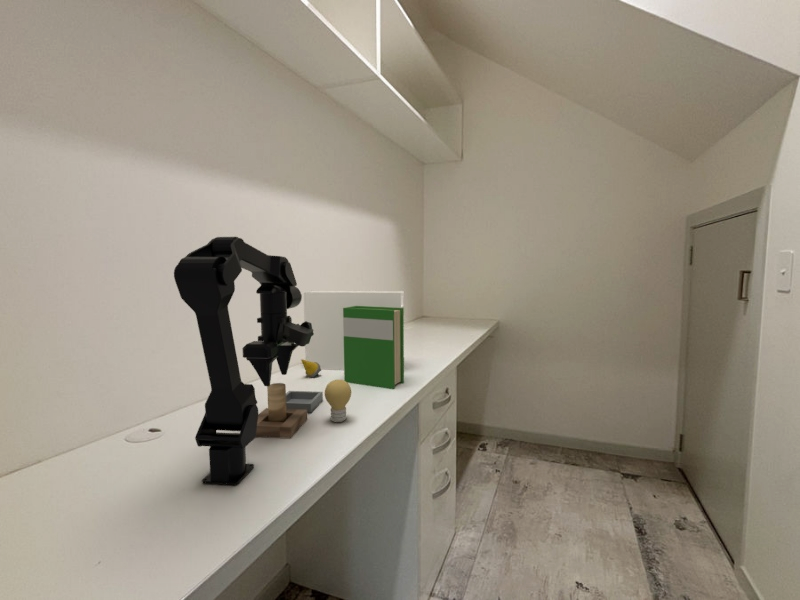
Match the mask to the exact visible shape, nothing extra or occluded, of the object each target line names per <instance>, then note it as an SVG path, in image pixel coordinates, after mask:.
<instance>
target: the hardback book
mask: <svg viewBox="0 0 800 600" xmlns="http://www.w3.org/2000/svg"><path fill="white" fill-rule="evenodd" d="M404 317H405V310H404V311H403V308H393V307H371V306H352V307H346V308H343V329H344V371H343V372H344V373H343V374H344V375H343V376H344V381H346V382H347V383H348V384H354V385H361V386H368V387H376V388H381V389H389V390H395V388H396V385H397V384H404V383H405V354H404V353H405V352H404V351H405V349H404V348H405V346H404V343H405V342H404V341H405V339H404V338H405V337H404V335H405V334H404V332H405V331H404V330H405V329H404V328H405V327H404V326H405V325H404V323H405V322H404V321H405V319H404Z"/></svg>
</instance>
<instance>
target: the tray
mask: <svg viewBox="0 0 800 600" xmlns="http://www.w3.org/2000/svg"><path fill="white" fill-rule="evenodd" d="M323 397H324V392H323V391H312V390H311V391H309V390H308V391H307V390H305V391H304V390H303V391H302V390H288V391H287V392H286V409H302V410H307V414H312V413H313V412H314V411H315V410H316V409H317V408H318V407H319V405H320V404H321V403H322V402H323V401H324V398H323Z"/></svg>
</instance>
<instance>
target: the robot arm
mask: <svg viewBox="0 0 800 600" xmlns="http://www.w3.org/2000/svg"><path fill="white" fill-rule="evenodd" d="M243 269H244V270H246V271H248V272H250V273H251V277H252V278H253V279H254V280H256V282H258V284H260V286H259V287H258V288H257V289H256V294H257V295H258V294H259V301H260V302H259V307H260V317H257V318H256V323H257V324H260V332H261V334H260V335H258V336H257V340H254V341H251V342H248V343H246V344H245V345H244V346H242V358H244V359H245V358H246V361H248V362H249V363H250V365H252V367H253V369H254V371H255V372H256V374H257V375H258V378H259V380H261V381H260V382H262V383H263V386H264V387H267V386H270V384H271V378H272V370H273V363H274V362H275V360H276V362H277V365H278V368H279V371H280V374H281V375H283V376H285V375H287V374H288V371H289V367H290V362H291V359H292V354H293V352H294V350H296V349H297V348H298V347H305V345H306V344H309V342H310V339H311V336H313V335H314V333H313V329H312V324H311V323H310V322H307V321H305V322H304V321H303V322H302V323H301V324H300V323H294V322H292V321H293V320H292V317H291V315H288V310H290V309H293V308H296V307H298V306H299V305H300V304H301V302H302V299H303V298H302V297H303V296H302V295H303V294H302V293H301V291H300V289H299V288H298V287H297V285H298V284H297V283H298V282H297V280H296V277H295V274H294V271H293V267H292V265H291V262H289V259H288V258H287V257H285V256H281V255H270V254H266V253H265V252H262V251H261V250H259V249H258V248H256V247H254V246H252V245H251V244H248V243H246V242H245V241H244V239H243V238H241V237H238V236H216V237H214V238H212V239H211V240H210V241H209V242H208V243H207V244H205V245H203V246H201V247H199V248H197V249H195V250H193V251H190V252H189V253H188V254H186V255H185V256H184V257H183V258H180V261H178V262H177V264H176V266H175V268H174V271H173V278H174V282H175V284H176V287H177V290H178V293H179V296H180V299H181V300H182V301H183V302H184V303H185V304H186V305H187V306H188V307H189V308H190V309H191V310H192V311H193V312H194V314H195V317H196V321H197V326H198V331H199V335H200V341H201V346H202V351H203V356H204V361H205V364H206V369H207V374H208V379H209V384H210V389H211V391H210V392H209V395H208V397H207V399H206V401H205V403H204V410H205V411H204V412H205V413H204V415H203V417H202V420H201V422H200V425H199V427H198V430H197V432H196V434H195V436H194V439H195V442H196V445H197V447H199V448H200V447H209V449H208V452H209V453H208V456H209V457H208V458H209V459H208V460H209V473H208V474H207V475H206V476H204V478H202V479H201V481H202V484H209V485H226V486H228V485H230V486H236V485H238V484H239V483H241V481H242V480H244V478H245V477H246V476H247V475H248V474H249V473H250V472H251V471H252V470H253V469H254V467H255V464H254V463H247V456H246V455H247V454H246V450H247V449H246V447H247V446H248V445H249V444H251V442H252V441H254V440H255V439H256V438H257V437H256V430H257V421H258V414H259V407H258V405H257V404H258V400H257V398H256V397H257V396H256V391H255V390H256V388H255V386H254V385H253V384H252V383H251V384H249V383H248V384H247V383H244V382H243V381H242V377H241V373H240V372H241V371H240V367H239V361H238V357H237V351H236V346H235V340H234V334H233V329H232V328H233V327H232V324H231V323H232V322H231V318H230V312H229V304H230V302H231V299H232V298H233V295H234V293H235V292H236V291H235V290H236V288H235V287H236V286H235V285H236V284H235V281H236V280H237V279H238V277H239V276H240V274H241V273H242V271H243ZM218 431H224V432H218ZM225 431H227V432H225ZM237 432H238V433H237ZM239 432H240V433H239Z"/></svg>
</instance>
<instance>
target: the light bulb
mask: <svg viewBox="0 0 800 600" xmlns="http://www.w3.org/2000/svg"><path fill="white" fill-rule="evenodd" d="M351 396H352V388H351V385H350V383H347V382H346V381H345V380H343V379H334V380H332V381H329V382H328V384H326V387H325V390H324V398H325V400H326V401H327V403H328V404H329V406H330V421H332V422H334V423H342V422H344V421H345V420H346V419H347V407H346V405H347V404H348V403H349V401H350V400H351Z"/></svg>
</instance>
